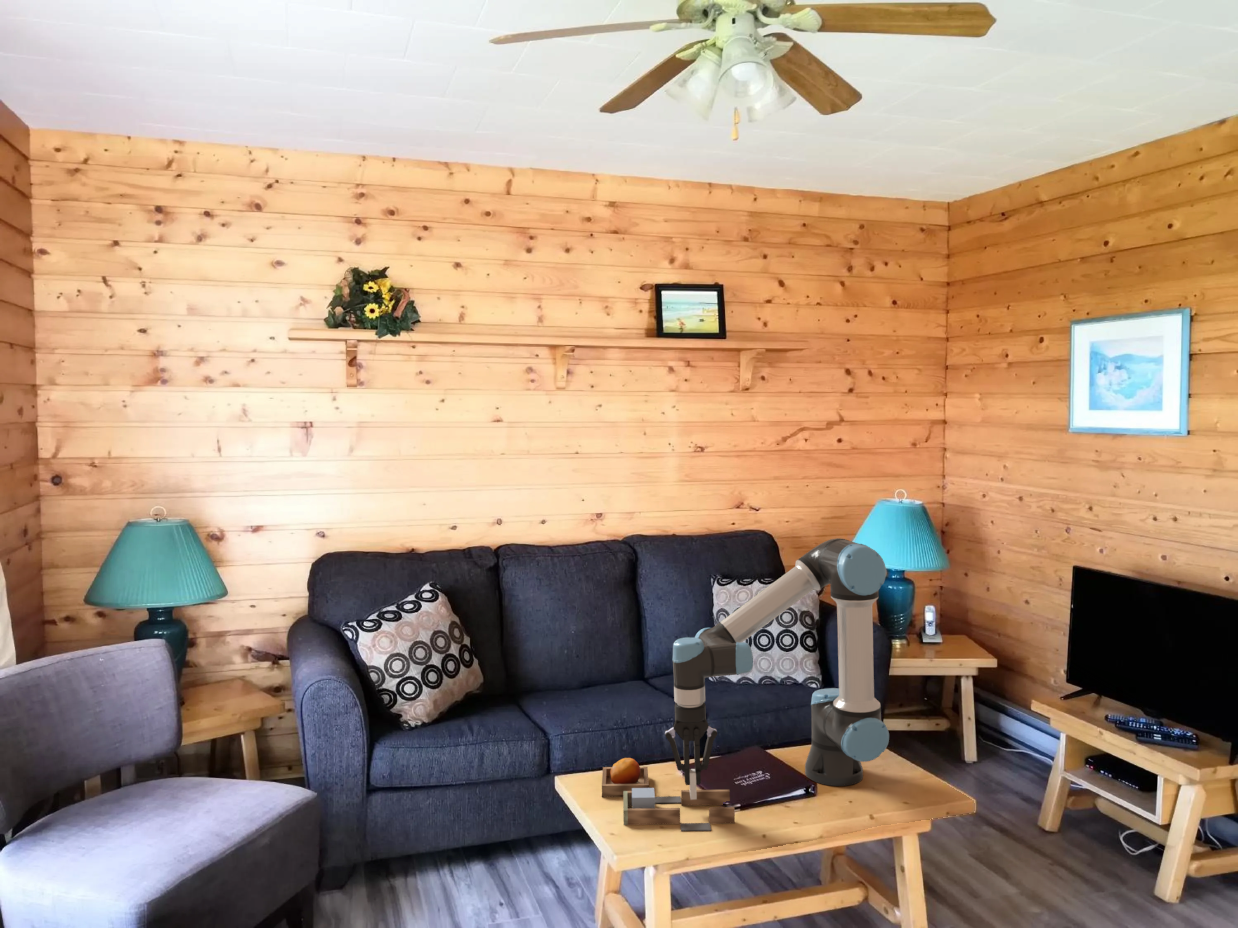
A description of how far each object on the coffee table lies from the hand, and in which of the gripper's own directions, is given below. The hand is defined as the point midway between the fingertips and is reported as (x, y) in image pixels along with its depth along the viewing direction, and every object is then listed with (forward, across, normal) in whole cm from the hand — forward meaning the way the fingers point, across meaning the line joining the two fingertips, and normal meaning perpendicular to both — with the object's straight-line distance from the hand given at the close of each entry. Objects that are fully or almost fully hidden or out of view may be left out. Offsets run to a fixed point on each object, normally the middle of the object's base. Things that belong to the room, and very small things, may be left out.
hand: (693, 796), depth 222 cm
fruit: (+3, +17, -16) cm, 23 cm away
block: (+4, +12, 0) cm, 13 cm away
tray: (+4, +17, -16) cm, 23 cm away
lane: (+4, +4, 0) cm, 5 cm away
